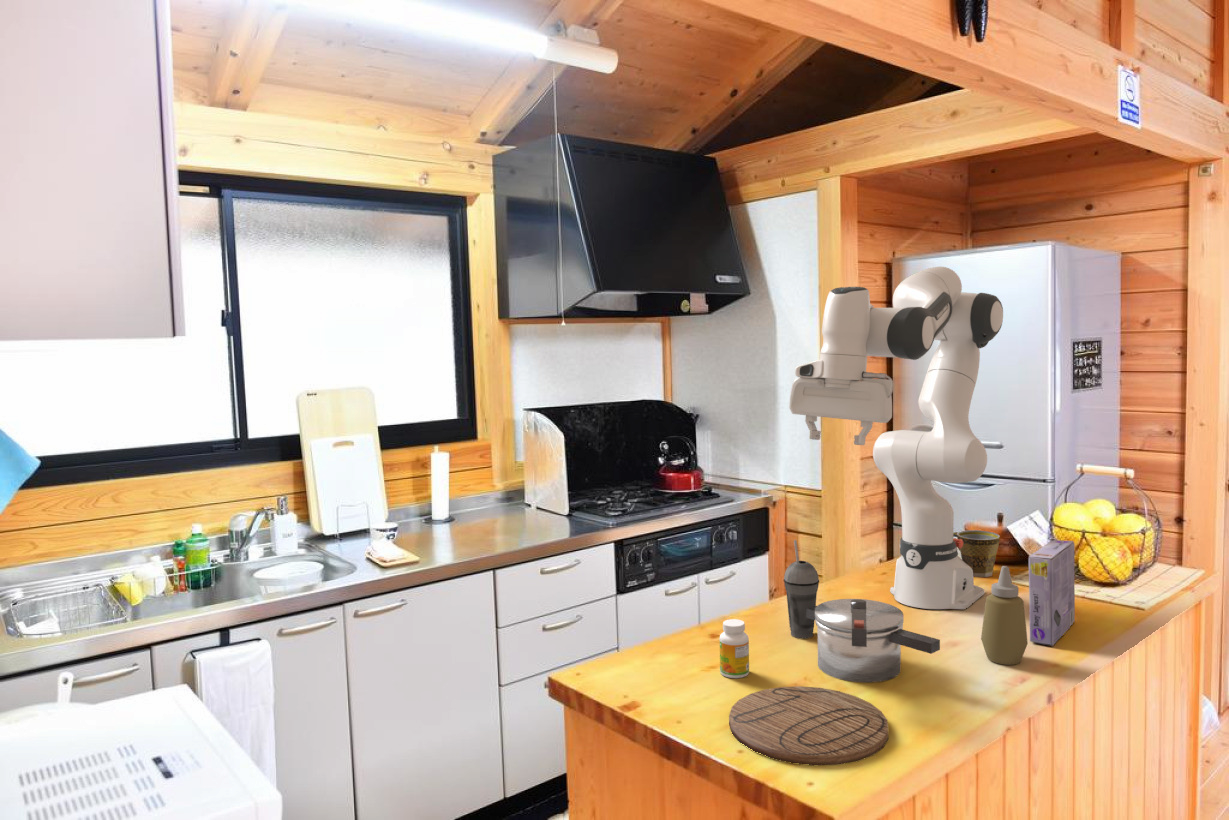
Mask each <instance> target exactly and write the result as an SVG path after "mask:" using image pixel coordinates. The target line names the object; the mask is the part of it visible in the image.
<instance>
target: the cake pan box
mask: <svg viewBox="0 0 1229 820" xmlns="http://www.w3.org/2000/svg"><path fill="white" fill-rule="evenodd" d="M1028 591H1029V592H1028V597H1029V599H1028V602H1029V604H1028V605H1029V619H1028V620H1029V642H1032V643H1037V644H1041V645H1045V646H1049V647H1054V646H1055V644H1056V643H1057V641H1059V639H1061V638H1062V637H1061V636H1063V634H1064V633H1065V632H1066V631H1067V632H1068V630H1069V629H1070V628H1071V627H1072V626H1073V622H1074V623H1075V617H1076V616H1075V610H1076V609H1075V606H1076V605H1075V602H1076V601H1075V599H1076V598H1075V596H1076V595H1075V592H1076V591H1075V542H1074V540H1058V539H1056V540H1055V539H1052V540H1051V541H1049V542H1048V543H1046V544H1045V545H1043V546H1042V547H1041V548H1038V550H1036V551H1035V552H1034V553H1031V554H1030V555H1029V556H1028ZM1071 625H1072V626H1071ZM1070 626H1071V627H1070ZM1067 632H1066V633H1067ZM1066 633H1065V634H1066ZM1065 634H1064V635H1065ZM1063 637H1064V636H1063Z"/></svg>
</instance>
